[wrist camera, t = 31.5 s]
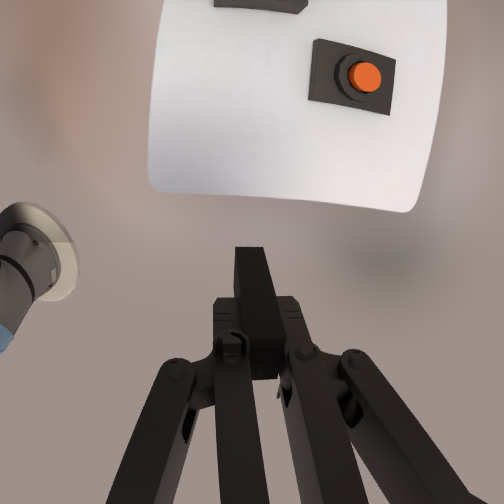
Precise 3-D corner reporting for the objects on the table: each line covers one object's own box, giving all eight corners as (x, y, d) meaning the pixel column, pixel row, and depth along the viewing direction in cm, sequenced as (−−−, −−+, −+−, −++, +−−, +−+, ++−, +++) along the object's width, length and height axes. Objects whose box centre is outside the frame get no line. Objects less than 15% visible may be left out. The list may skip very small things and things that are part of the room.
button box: (308, 99, 35) (317, 100, 32) (313, 40, 31) (322, 36, 27) (382, 114, 37) (396, 117, 33) (388, 60, 32) (402, 59, 29)
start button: (347, 87, 31) (352, 88, 30) (349, 60, 29) (355, 59, 28) (373, 94, 32) (379, 94, 30) (376, 67, 30) (382, 66, 28)
